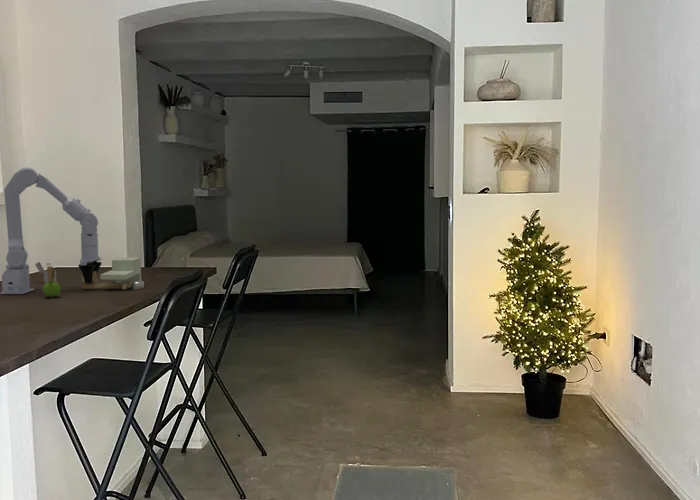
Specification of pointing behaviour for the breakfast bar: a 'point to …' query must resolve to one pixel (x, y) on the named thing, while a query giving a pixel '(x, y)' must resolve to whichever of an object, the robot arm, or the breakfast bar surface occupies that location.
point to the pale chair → (124, 270)
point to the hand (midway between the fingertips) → (90, 282)
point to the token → (137, 284)
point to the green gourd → (51, 284)
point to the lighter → (44, 272)
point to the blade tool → (104, 284)
